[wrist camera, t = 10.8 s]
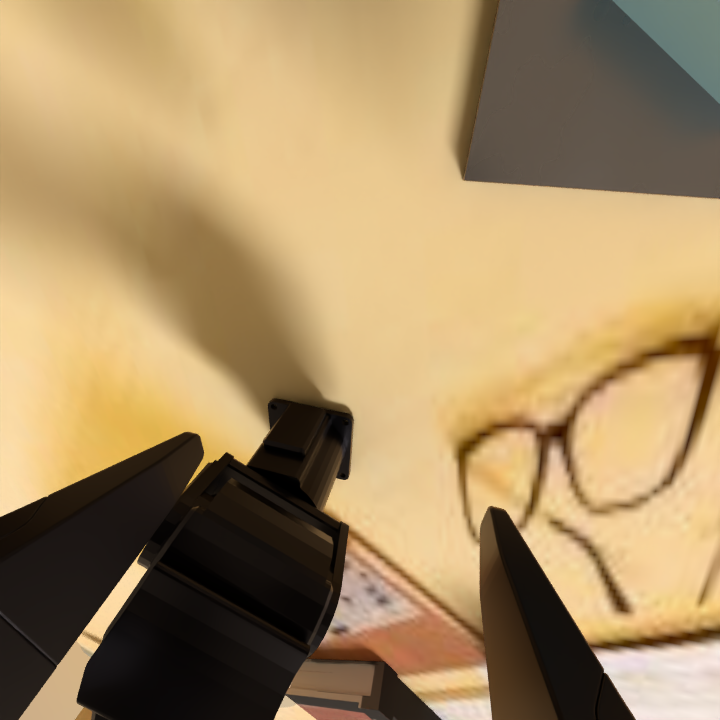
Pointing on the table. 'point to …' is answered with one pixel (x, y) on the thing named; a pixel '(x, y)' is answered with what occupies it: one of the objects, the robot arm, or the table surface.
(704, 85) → the flange block
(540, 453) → the table surface
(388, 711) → the book
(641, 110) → the base plate
